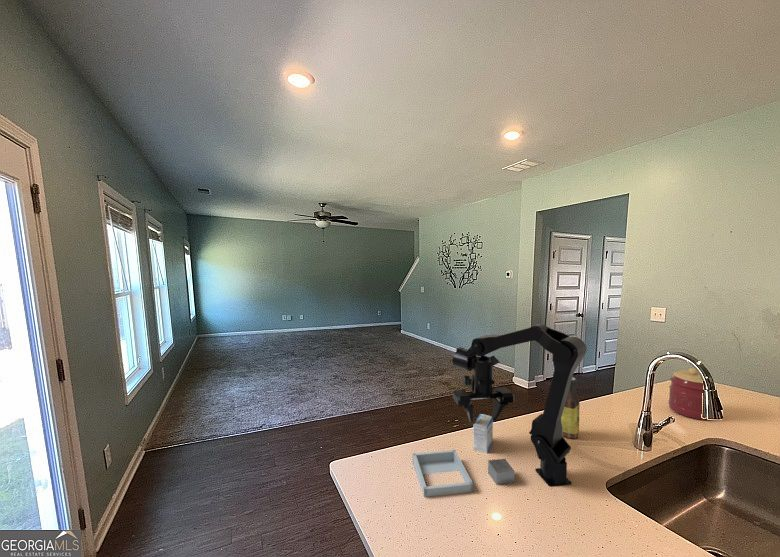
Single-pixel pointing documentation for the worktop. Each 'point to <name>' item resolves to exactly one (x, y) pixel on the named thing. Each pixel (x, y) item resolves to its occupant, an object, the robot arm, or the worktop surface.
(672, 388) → the canister
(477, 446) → the medicine box
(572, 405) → the sauce bottle
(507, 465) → the block
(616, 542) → the worktop surface
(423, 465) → the tray
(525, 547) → the worktop surface
